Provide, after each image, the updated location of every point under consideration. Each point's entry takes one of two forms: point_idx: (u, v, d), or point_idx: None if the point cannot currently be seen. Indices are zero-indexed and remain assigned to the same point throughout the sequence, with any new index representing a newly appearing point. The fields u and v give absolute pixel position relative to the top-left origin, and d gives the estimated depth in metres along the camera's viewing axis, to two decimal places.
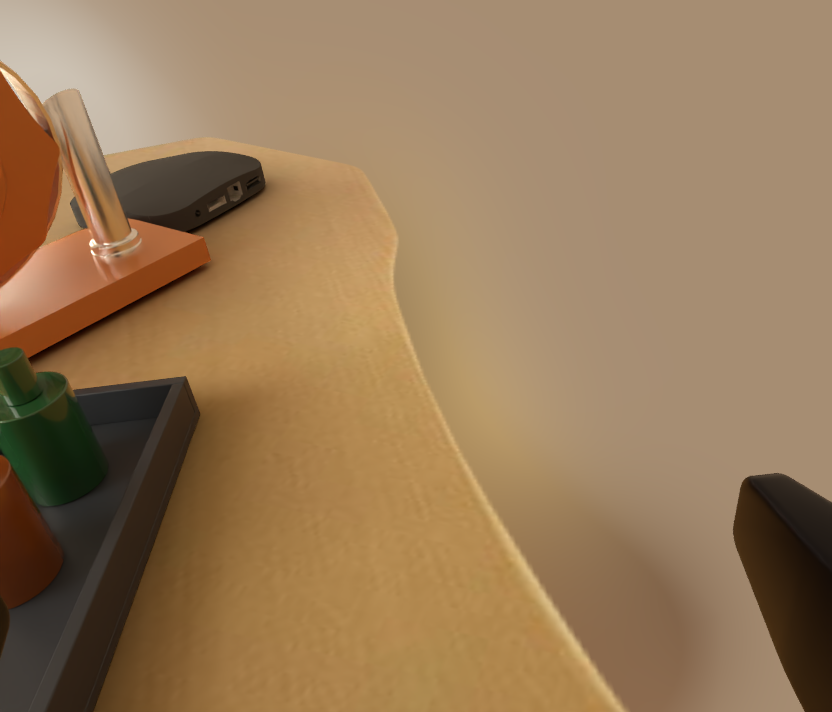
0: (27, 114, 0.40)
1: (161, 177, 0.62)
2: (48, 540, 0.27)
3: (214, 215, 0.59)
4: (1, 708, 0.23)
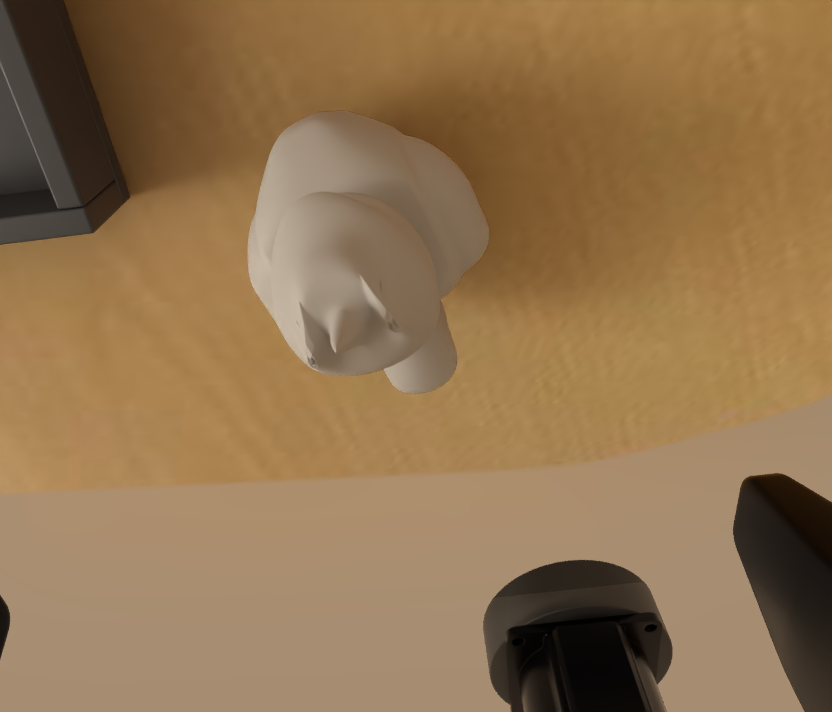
0: None
1: None
2: None
3: None
4: None
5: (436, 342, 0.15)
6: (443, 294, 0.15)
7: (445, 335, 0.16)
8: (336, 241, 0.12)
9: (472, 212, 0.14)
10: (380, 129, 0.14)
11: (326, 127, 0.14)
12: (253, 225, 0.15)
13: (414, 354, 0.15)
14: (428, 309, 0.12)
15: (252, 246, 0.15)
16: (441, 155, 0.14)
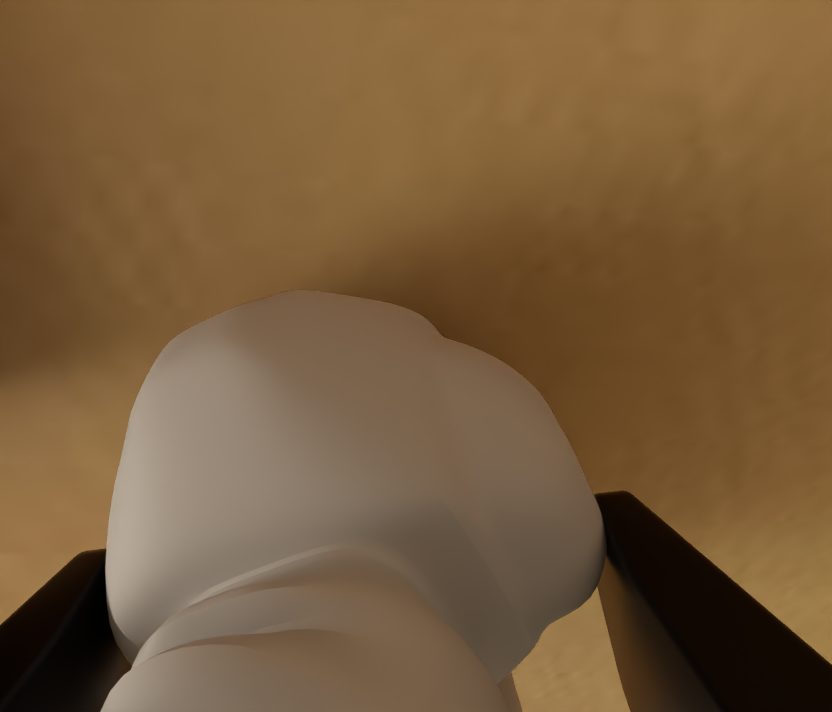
0: None
1: None
2: None
3: None
4: None
5: None
6: (512, 670, 0.07)
7: None
8: None
9: (581, 523, 0.07)
10: (381, 348, 0.06)
11: (252, 366, 0.06)
12: None
13: None
14: None
15: None
16: (514, 399, 0.07)
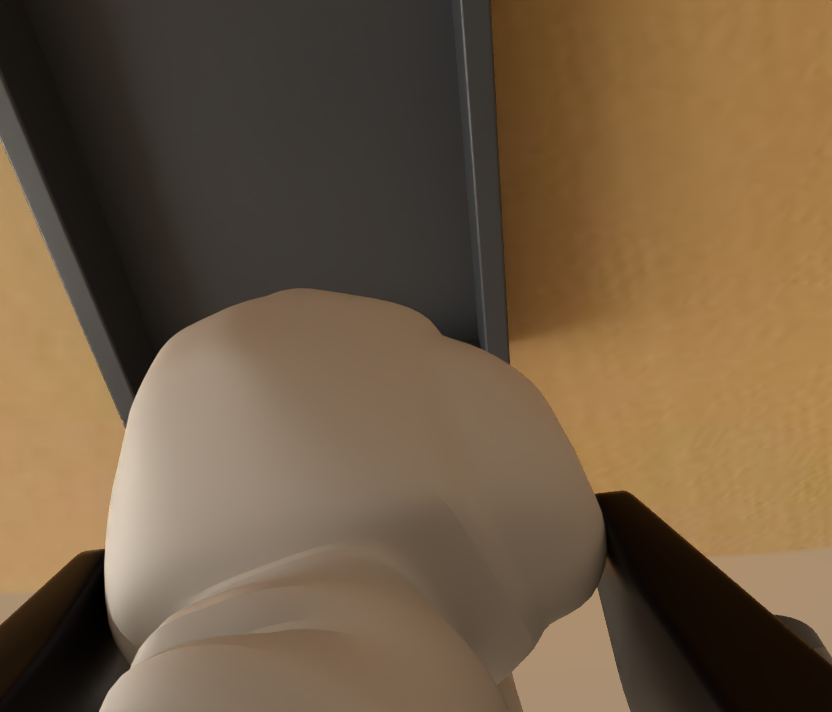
0: None
1: None
2: None
3: None
4: (339, 4, 0.15)
5: None
6: (512, 670, 0.07)
7: None
8: None
9: (582, 522, 0.07)
10: (381, 347, 0.06)
11: (252, 365, 0.06)
12: None
13: None
14: None
15: None
16: (515, 397, 0.07)
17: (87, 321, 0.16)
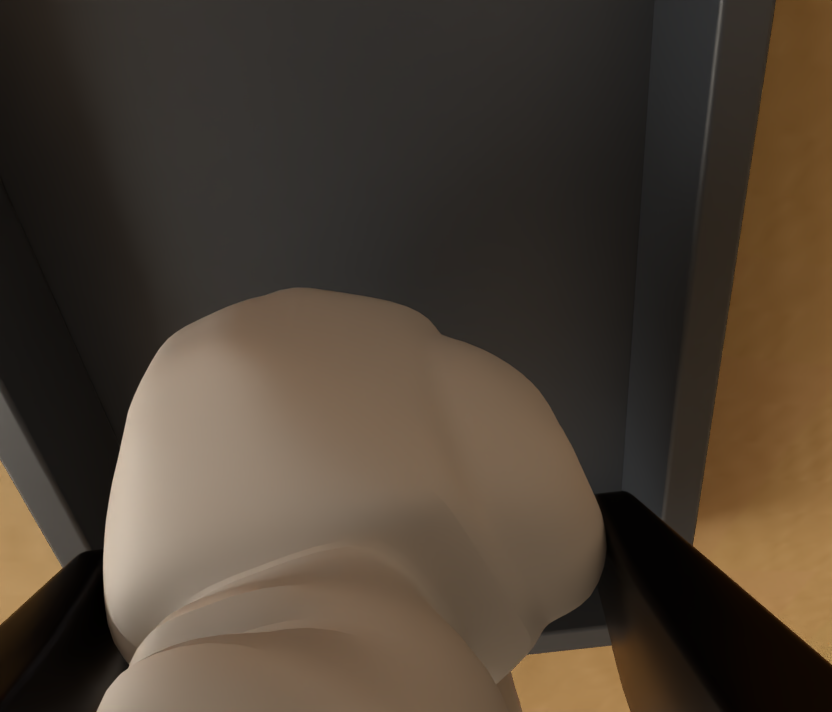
0: None
1: None
2: None
3: None
4: (470, 113, 0.09)
5: None
6: (511, 669, 0.07)
7: None
8: None
9: (581, 522, 0.07)
10: (379, 346, 0.06)
11: (251, 364, 0.06)
12: None
13: None
14: None
15: None
16: (514, 397, 0.07)
17: None
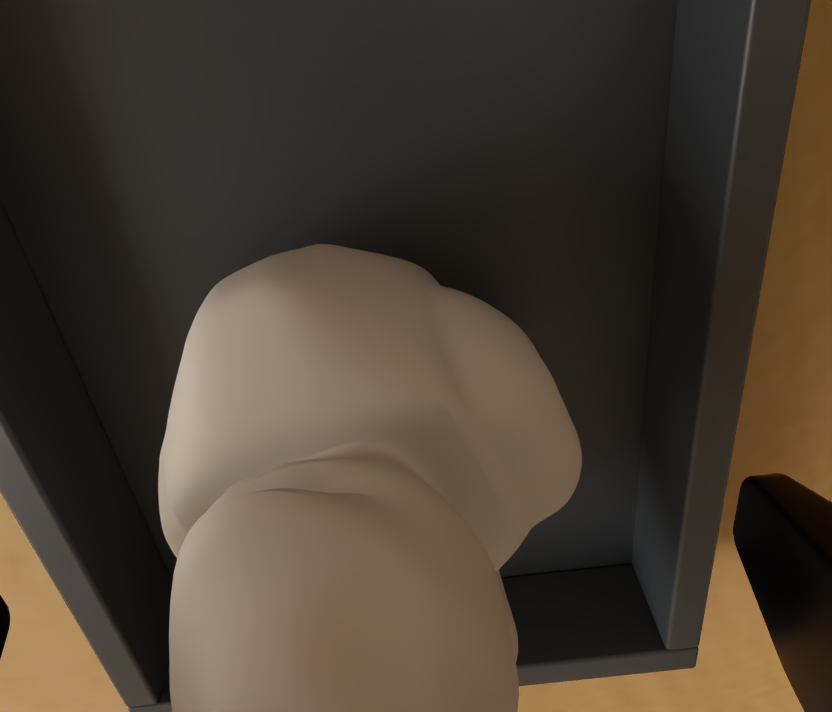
0: None
1: None
2: None
3: None
4: (483, 132, 0.09)
5: None
6: None
7: None
8: (300, 627, 0.05)
9: (559, 436, 0.08)
10: (392, 289, 0.08)
11: (289, 298, 0.07)
12: None
13: None
14: None
15: (163, 485, 0.08)
16: (503, 332, 0.08)
17: (75, 598, 0.10)
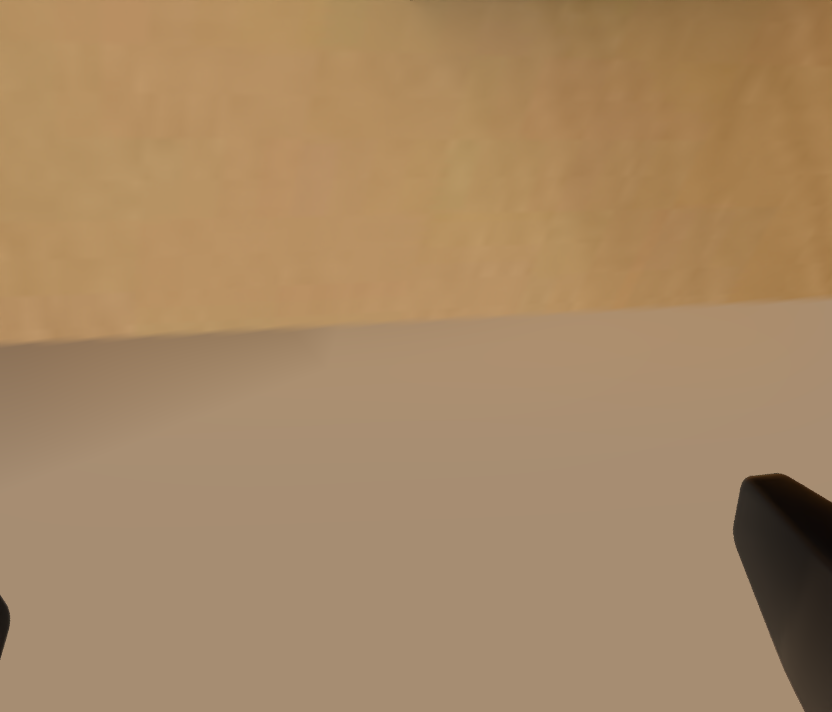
0: None
1: None
2: None
3: None
4: None
5: None
6: None
7: None
8: None
9: None
10: None
11: None
12: None
13: None
14: None
15: None
16: None
17: None
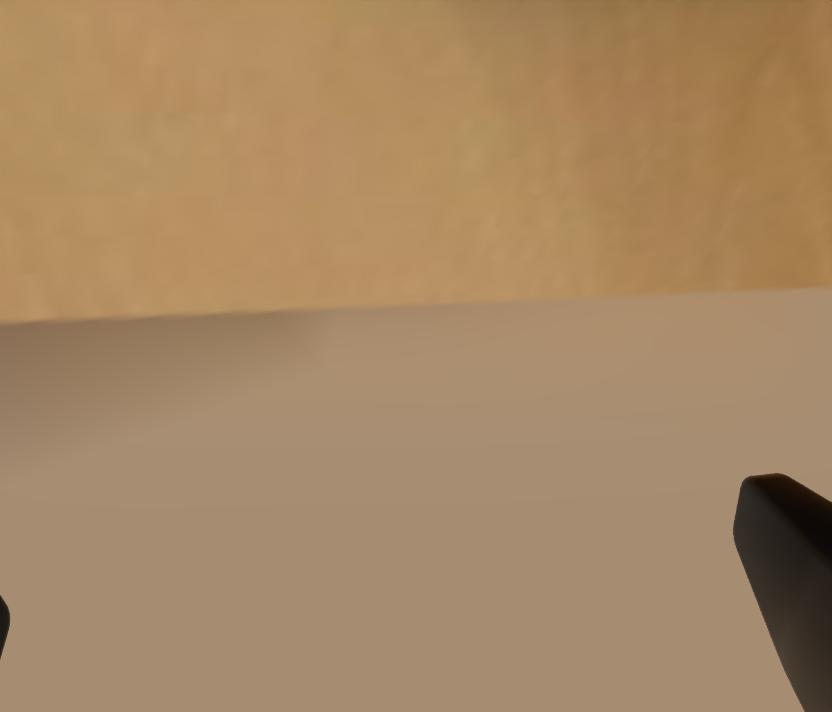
0: None
1: None
2: None
3: None
4: None
5: None
6: None
7: None
8: None
9: None
10: None
11: None
12: None
13: None
14: None
15: None
16: None
17: None
